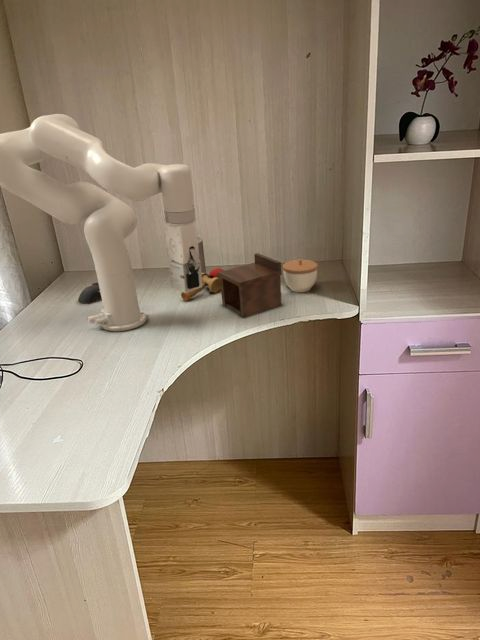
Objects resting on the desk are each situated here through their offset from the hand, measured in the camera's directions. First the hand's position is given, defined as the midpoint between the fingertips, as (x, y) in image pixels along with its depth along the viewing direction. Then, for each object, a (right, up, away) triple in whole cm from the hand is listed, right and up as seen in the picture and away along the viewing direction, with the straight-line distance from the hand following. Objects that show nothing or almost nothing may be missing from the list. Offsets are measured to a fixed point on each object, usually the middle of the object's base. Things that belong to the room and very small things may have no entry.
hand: (186, 283), depth 141 cm
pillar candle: (-3, +5, +37) cm, 38 cm away
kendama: (+2, 0, +26) cm, 26 cm away
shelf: (+17, -5, +14) cm, 23 cm away
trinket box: (+32, +1, +24) cm, 40 cm away
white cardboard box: (0, -1, +1) cm, 2 cm away
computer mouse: (-33, +1, +31) cm, 46 cm away
